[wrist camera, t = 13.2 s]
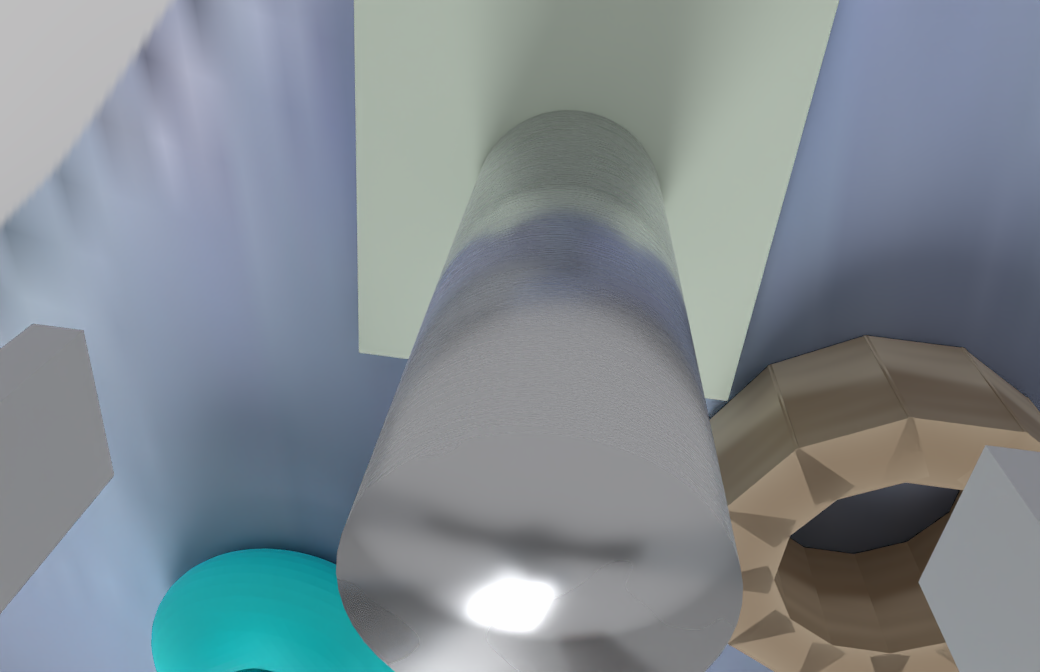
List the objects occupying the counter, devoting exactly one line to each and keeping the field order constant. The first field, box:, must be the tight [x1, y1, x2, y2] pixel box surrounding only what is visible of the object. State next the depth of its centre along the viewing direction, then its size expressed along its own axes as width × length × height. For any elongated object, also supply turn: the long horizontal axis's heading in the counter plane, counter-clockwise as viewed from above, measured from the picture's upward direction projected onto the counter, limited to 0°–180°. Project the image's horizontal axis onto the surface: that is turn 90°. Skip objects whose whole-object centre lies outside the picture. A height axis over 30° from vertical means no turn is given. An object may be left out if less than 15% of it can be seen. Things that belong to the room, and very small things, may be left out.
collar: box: [710, 335, 1040, 672], centre depth 24 cm, size 10×10×4 cm
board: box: [354, 0, 839, 401], centre depth 21 cm, size 11×11×1 cm
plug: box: [336, 110, 743, 672], centre depth 15 cm, size 5×5×13 cm
